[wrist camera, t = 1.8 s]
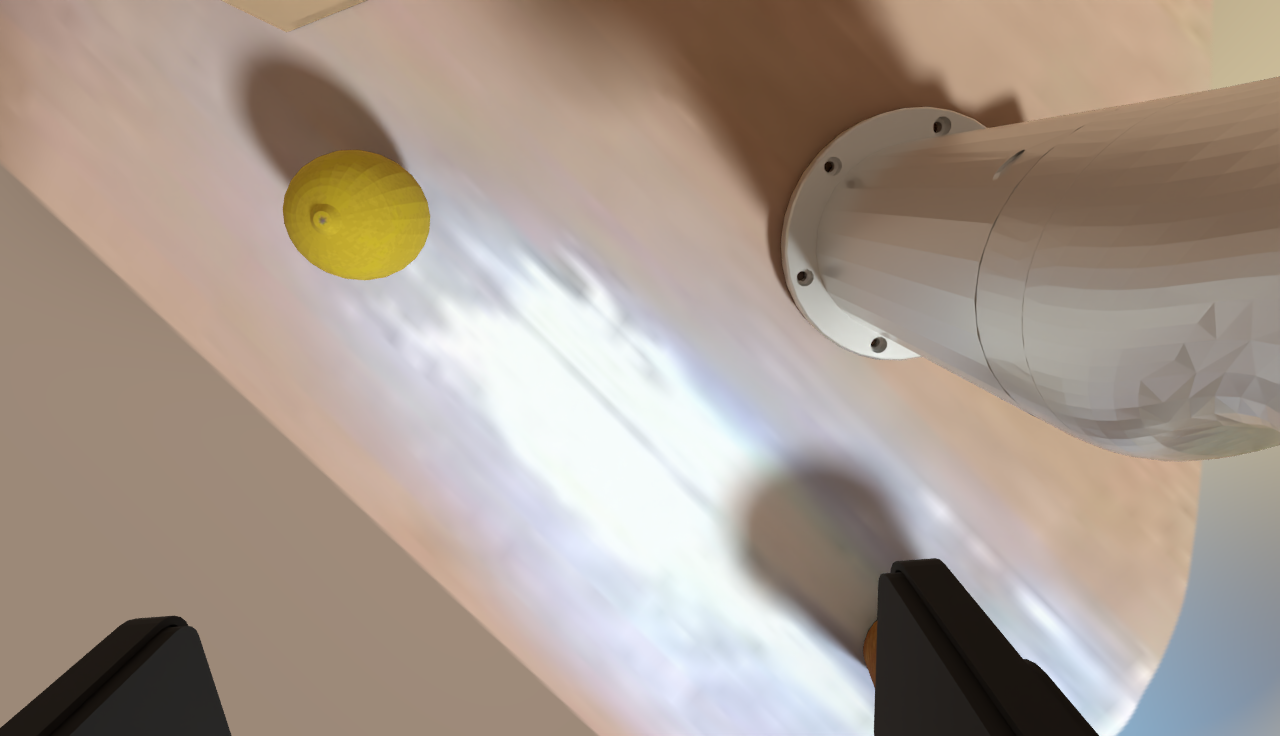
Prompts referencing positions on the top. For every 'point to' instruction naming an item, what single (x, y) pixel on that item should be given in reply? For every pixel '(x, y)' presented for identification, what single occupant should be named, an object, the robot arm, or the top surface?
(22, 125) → the top surface
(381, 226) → the lemon
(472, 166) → the top surface
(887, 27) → the top surface
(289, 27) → the mailer box
